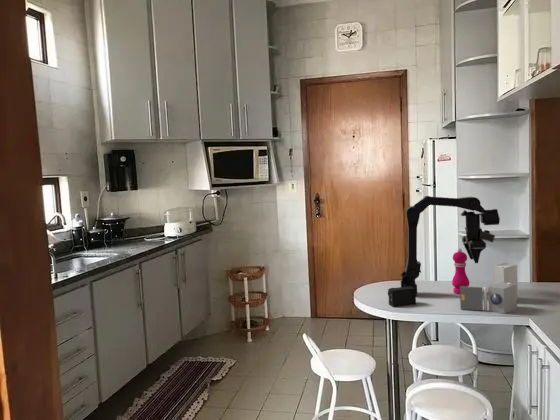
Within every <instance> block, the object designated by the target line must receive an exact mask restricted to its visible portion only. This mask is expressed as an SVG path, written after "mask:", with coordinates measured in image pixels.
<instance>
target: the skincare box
mask: <svg viewBox="0 0 560 420" xmlns="http://www.w3.org/2000/svg"><path fill="white" fill-rule="evenodd" d="M491 268H492V269H491V270H492V273H491V274H492V285H494V284H497V283H500V282H504V283H512V284H516V290H517V300H519V290H518V264H513V263H508V262H503V263H500V264H496V265H491Z"/></svg>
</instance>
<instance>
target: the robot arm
mask: <svg viewBox="0 0 560 420" xmlns="http://www.w3.org/2000/svg"><path fill="white" fill-rule="evenodd" d="M429 206H438V207H439V206H441V207H442V206H443V207H454V208H460V209H463V211H462V212H461V213H460V214H459V215H460V216H462V217H465V227H464V230H465V235H464V236H462V237H461V242H462V244H463V246H464V249H465V250H466V252H467V253H466V254H467V255H468V257H469V259H470V260H473V261H474V263H475V264H479V260H480V256H481V253H482V252H483V250H485V249H486V248H487V242H485V241H488V242H490V243H493V242H494V240H495V238H496V235H494V234H492V233H491V232H490V230H488V229H484V230H483V228H482V227H481V224H483V226H497V225H500V220H501V219H500V216H499V212H498V209H497V208H492V209H485V208H484V207H483V206H482V205H481V201H480V199H479V198H478V197H476V196H475V197H474V196H464V197H457V198H456V197H441V196H429V195H425V196H423V198H422V199H420V200H419V201H418V202H417V203H415V204H414V205H411V206H408V207H407V208H406V209H405V218H406V223H407V258H406V263H405V268H404V271H403V272H402V273H401V274H400V279H401V280H400V287H408V286H411V287H413V288H415V290H416V297H417V294H418V284H417V283H416V279H418V278H419V276H420V274H421V273H422V271H421V266H422V263H421V261H420V260H418V255H417V254H418V253H417V252H418V250H417V249H418V247H417V246H418V245H417V244H418V224H419V222H420V221H419V220H420V216H421V214H422V213H423V212H424V211H425V210H426V209H427V208H429ZM467 210H468V211H467ZM475 212H478V213H475ZM484 240H485V241H484Z"/></svg>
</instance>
